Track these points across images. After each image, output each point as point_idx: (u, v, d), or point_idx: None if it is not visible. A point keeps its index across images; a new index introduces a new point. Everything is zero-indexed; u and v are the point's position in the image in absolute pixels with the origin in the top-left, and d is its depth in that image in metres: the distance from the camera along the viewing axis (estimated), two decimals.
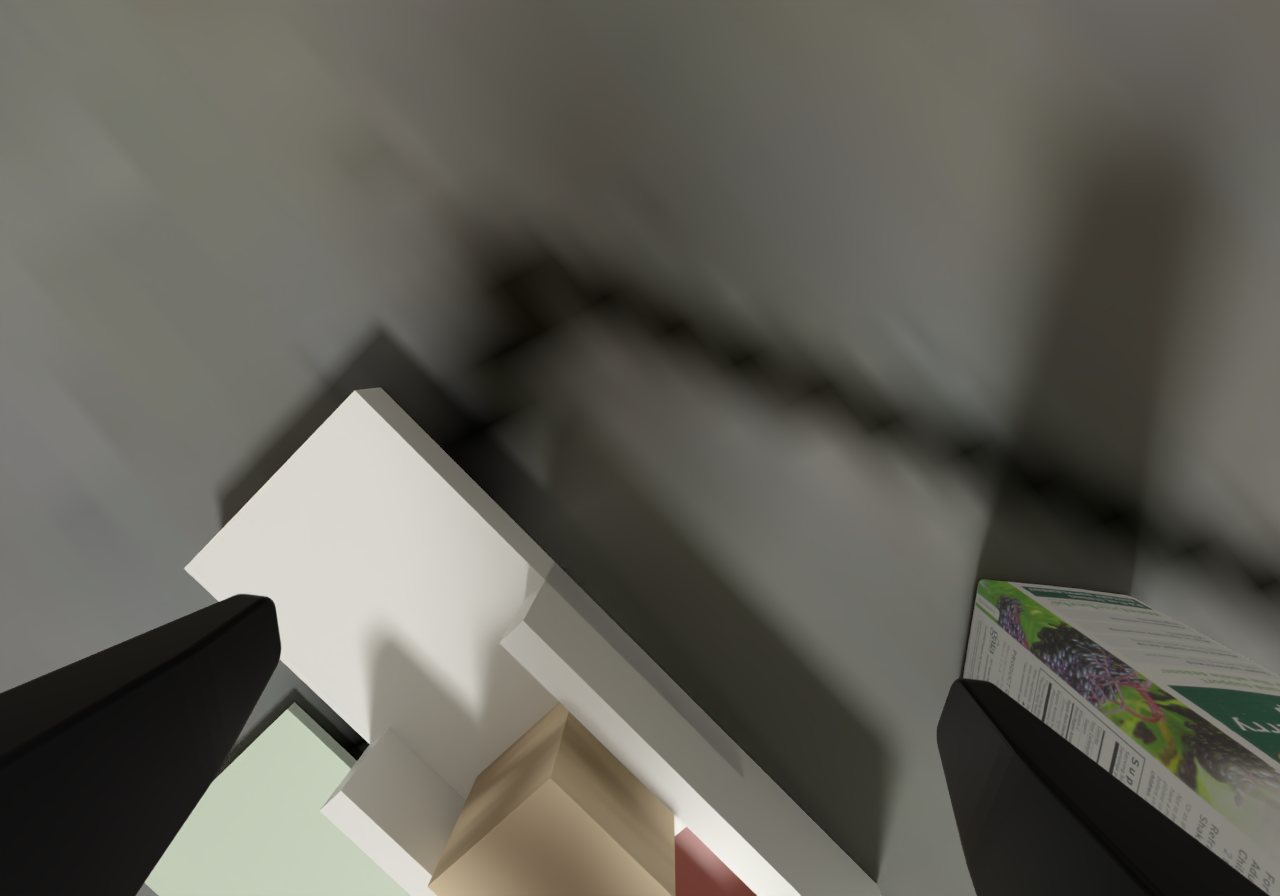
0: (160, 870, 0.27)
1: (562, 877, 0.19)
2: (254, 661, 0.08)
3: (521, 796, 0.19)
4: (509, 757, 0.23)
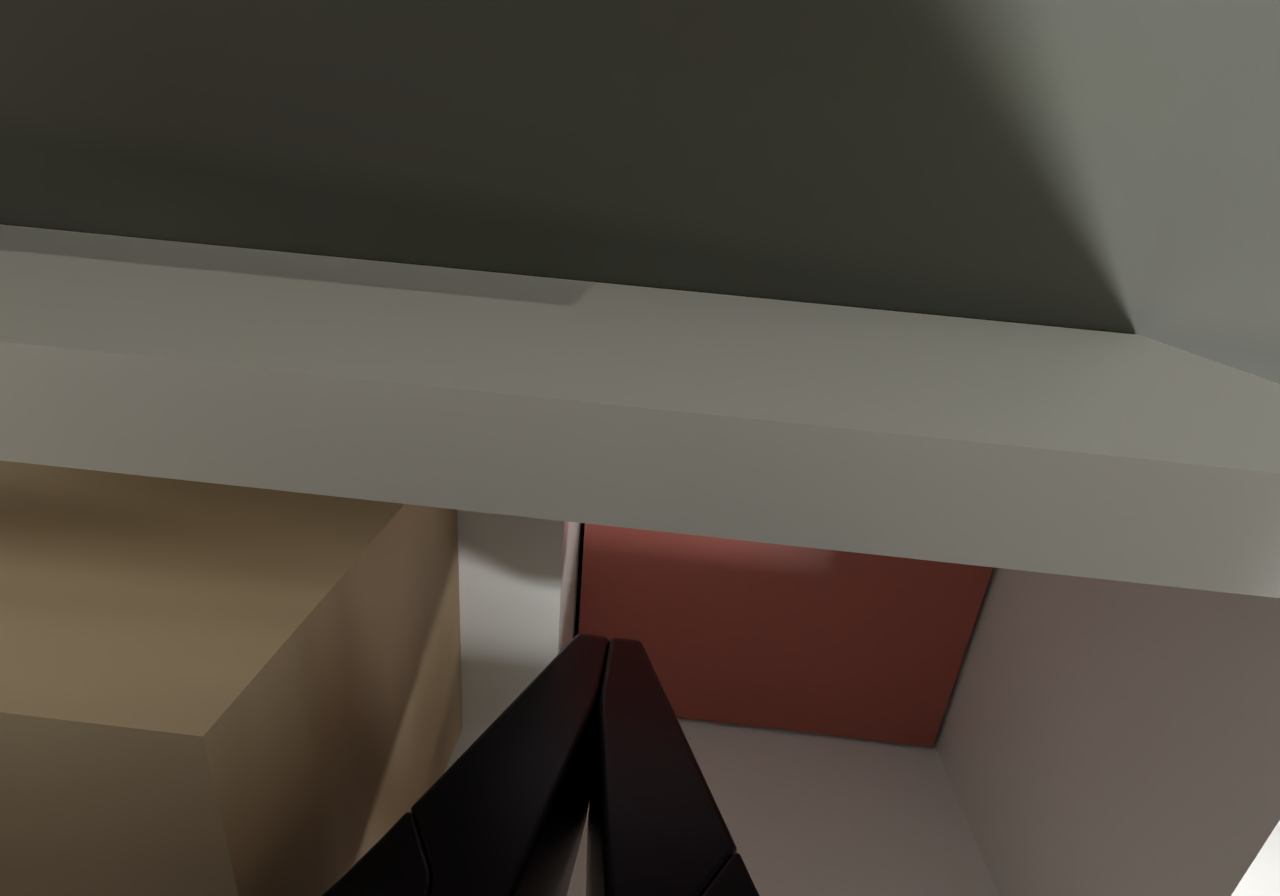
0: None
1: None
2: None
3: None
4: None
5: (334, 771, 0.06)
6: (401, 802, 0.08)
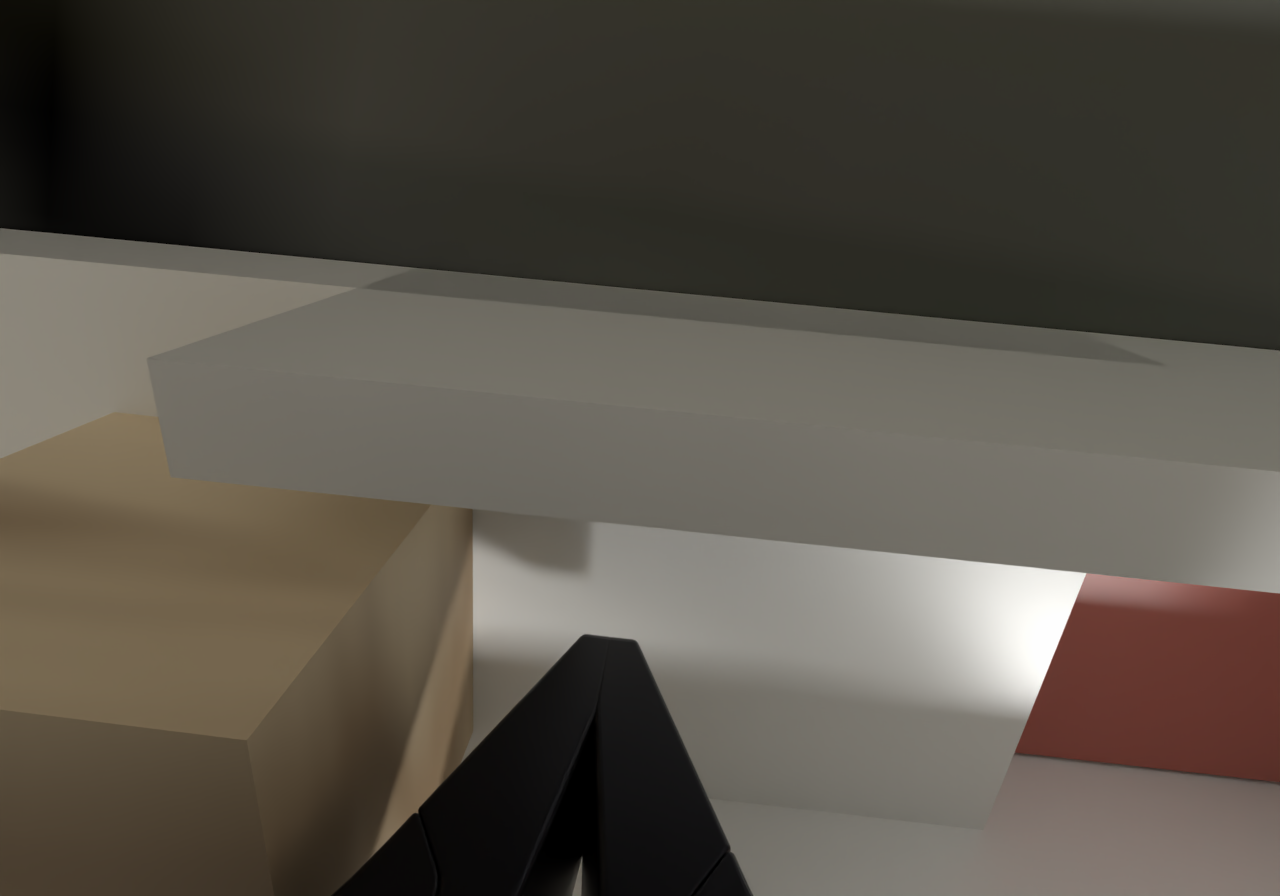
0: None
1: None
2: None
3: None
4: None
5: (359, 773, 0.06)
6: (416, 803, 0.08)
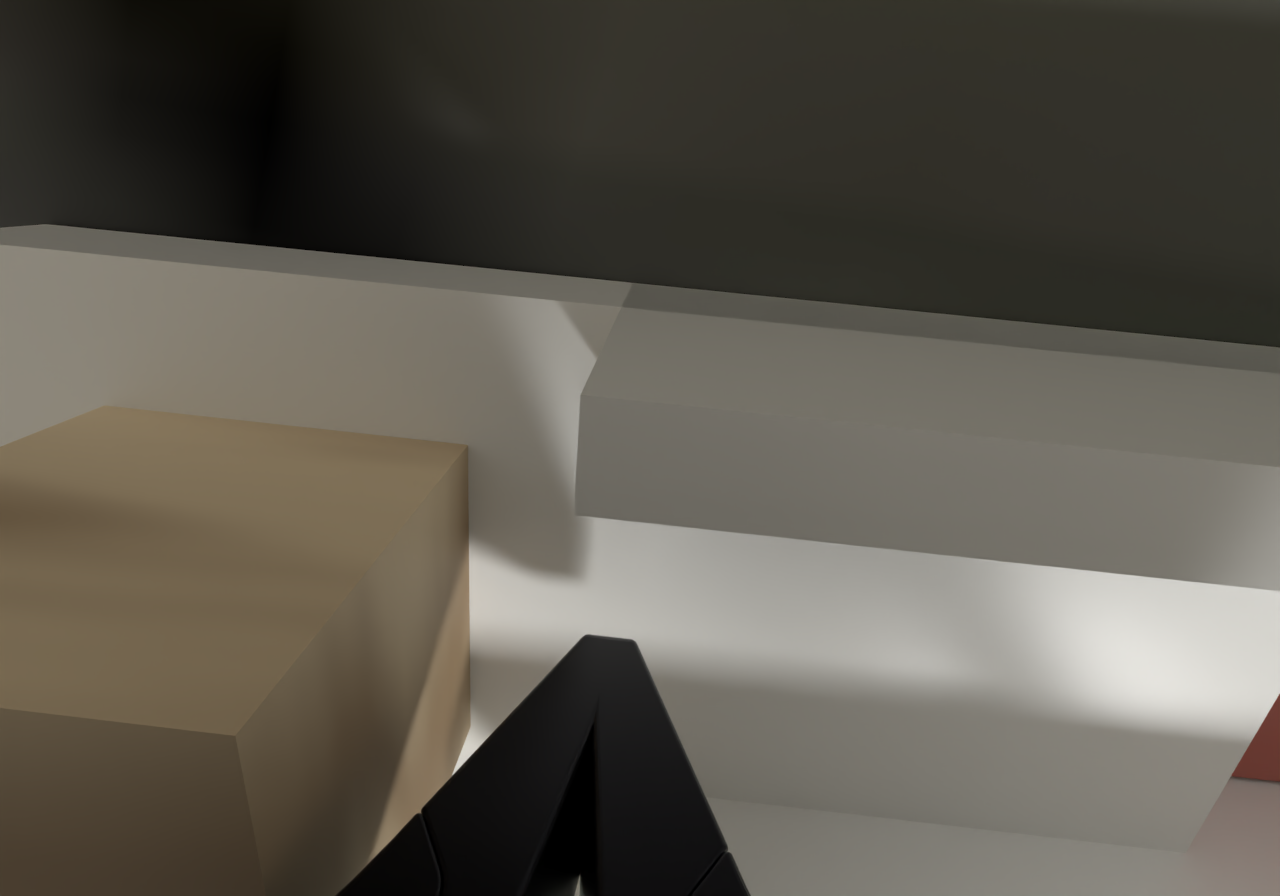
0: None
1: None
2: None
3: None
4: None
5: (353, 769, 0.06)
6: (413, 801, 0.08)
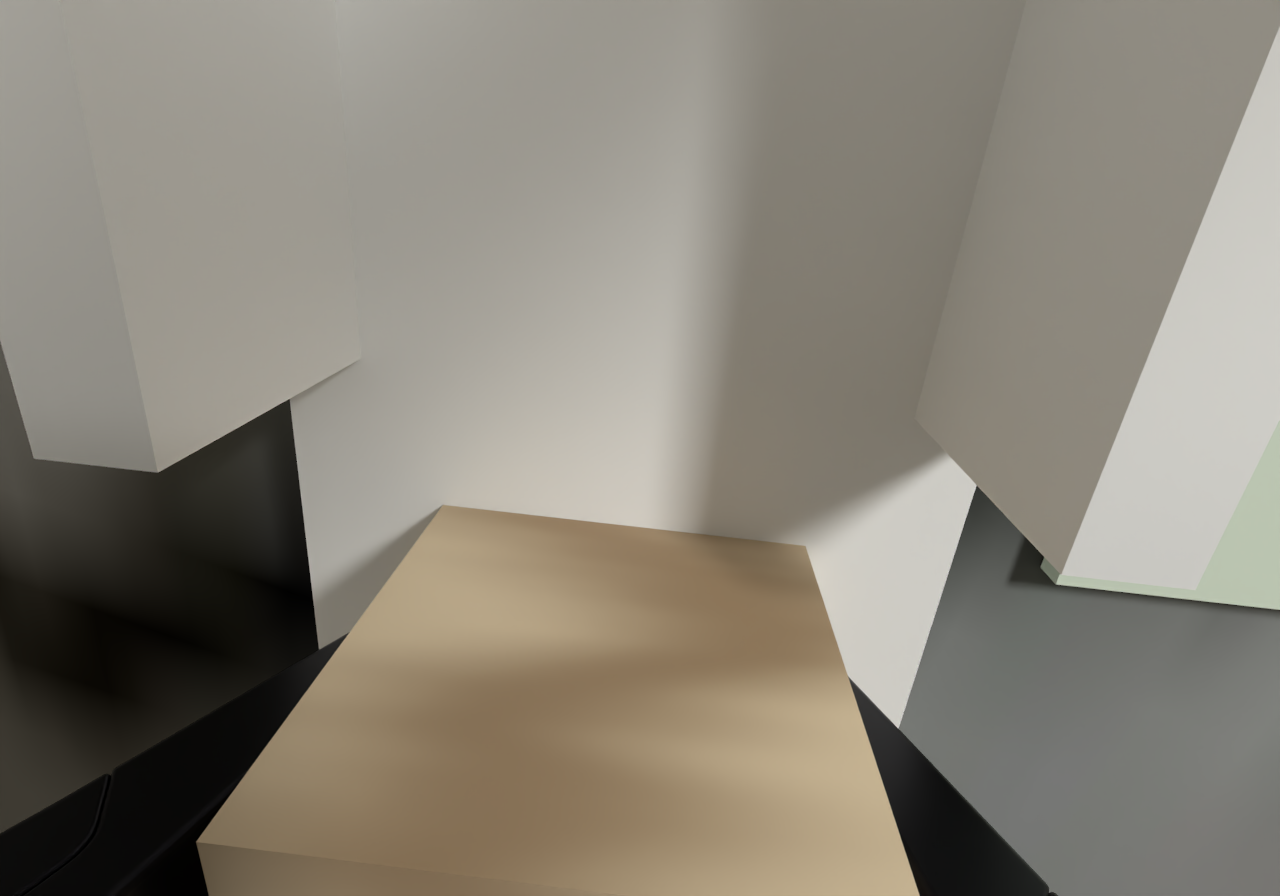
0: None
1: None
2: None
3: None
4: None
5: (511, 722, 0.06)
6: (730, 650, 0.07)
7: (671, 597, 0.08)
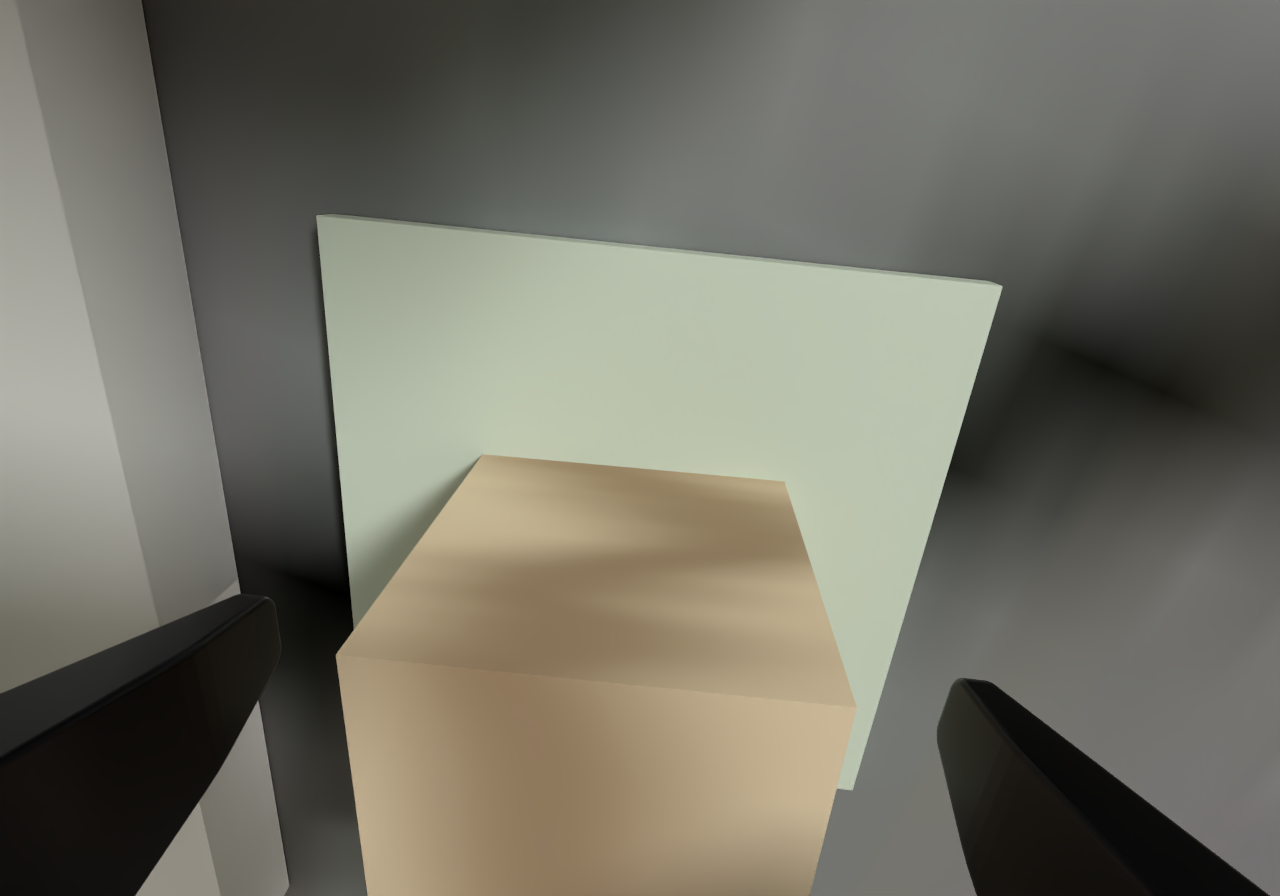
0: None
1: (530, 859, 0.07)
2: (254, 661, 0.08)
3: None
4: None
5: (551, 591, 0.08)
6: (719, 549, 0.09)
7: (672, 516, 0.09)
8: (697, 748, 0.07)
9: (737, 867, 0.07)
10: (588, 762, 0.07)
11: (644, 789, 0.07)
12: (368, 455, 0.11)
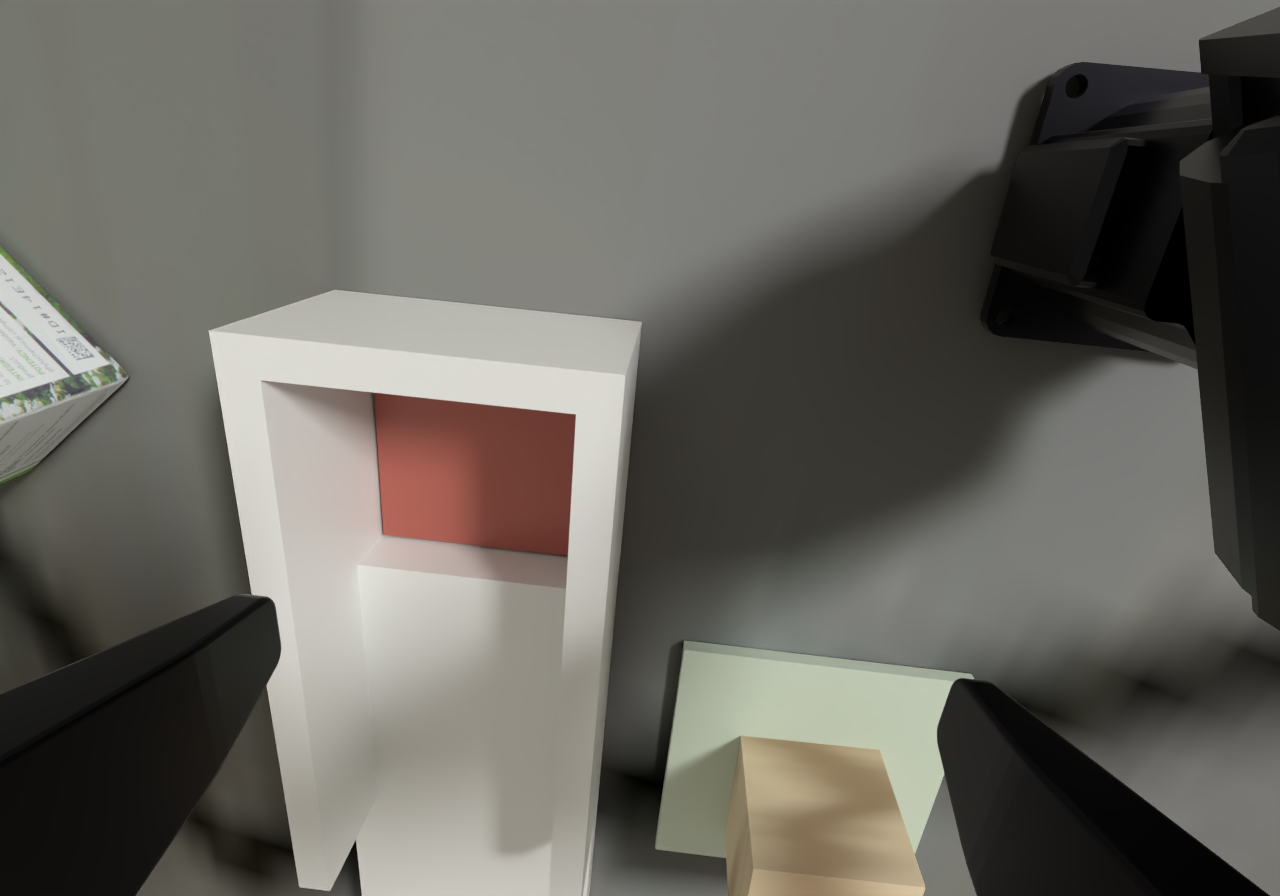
0: None
1: None
2: (254, 661, 0.08)
3: None
4: None
5: (808, 832, 0.21)
6: (862, 803, 0.22)
7: (838, 780, 0.23)
8: None
9: None
10: None
11: None
12: (686, 734, 0.24)
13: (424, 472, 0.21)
